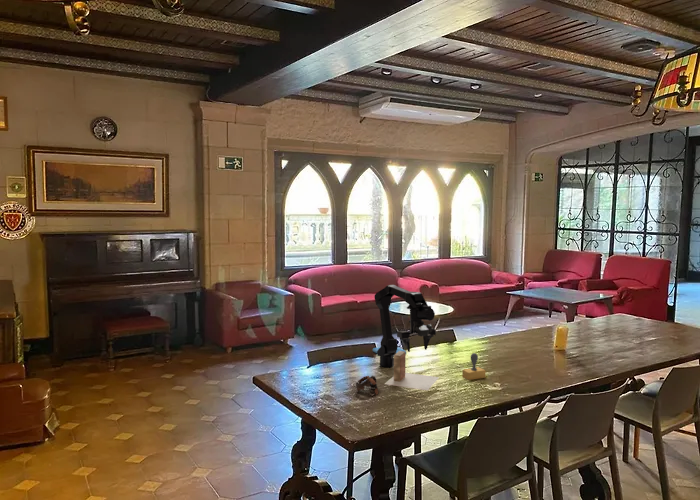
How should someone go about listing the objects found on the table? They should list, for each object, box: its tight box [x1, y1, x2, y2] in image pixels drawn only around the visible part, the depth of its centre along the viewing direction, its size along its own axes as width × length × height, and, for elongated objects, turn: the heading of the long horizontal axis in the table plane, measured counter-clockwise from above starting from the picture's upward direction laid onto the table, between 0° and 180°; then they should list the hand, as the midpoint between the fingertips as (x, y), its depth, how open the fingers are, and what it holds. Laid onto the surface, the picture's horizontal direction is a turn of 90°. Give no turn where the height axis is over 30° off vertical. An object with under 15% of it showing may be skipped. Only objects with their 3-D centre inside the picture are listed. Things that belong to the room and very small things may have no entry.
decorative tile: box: [372, 346, 407, 357], centre depth 302 cm, size 14×14×2 cm
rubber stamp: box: [461, 352, 487, 381], centre depth 258 cm, size 10×6×12 cm, turn 113°
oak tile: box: [393, 351, 407, 382], centre depth 254 cm, size 3×8×12 cm, turn 156°
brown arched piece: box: [355, 375, 380, 396], centre depth 238 cm, size 12×10×8 cm
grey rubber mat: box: [384, 372, 440, 391], centre depth 252 cm, size 21×20×1 cm
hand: (417, 350), depth 255 cm, fingers open, 9 cm apart
